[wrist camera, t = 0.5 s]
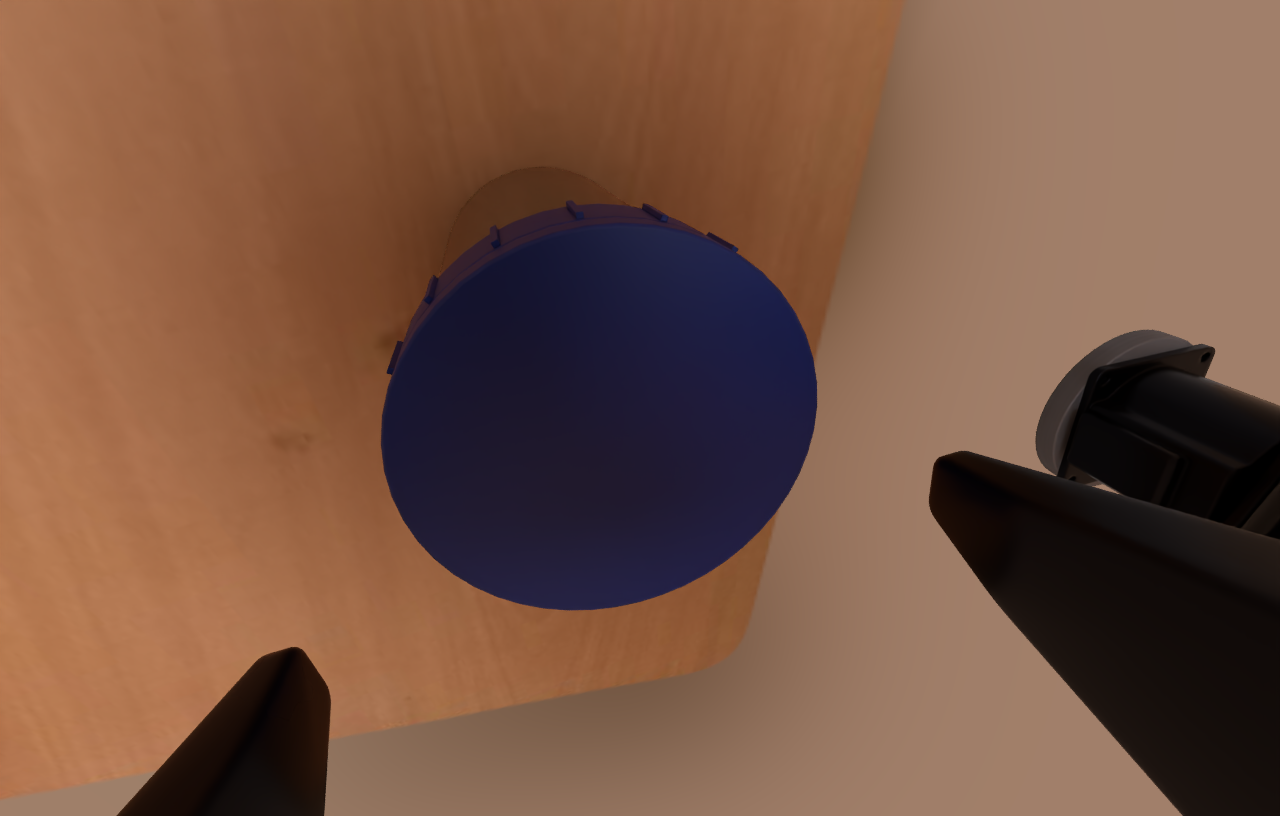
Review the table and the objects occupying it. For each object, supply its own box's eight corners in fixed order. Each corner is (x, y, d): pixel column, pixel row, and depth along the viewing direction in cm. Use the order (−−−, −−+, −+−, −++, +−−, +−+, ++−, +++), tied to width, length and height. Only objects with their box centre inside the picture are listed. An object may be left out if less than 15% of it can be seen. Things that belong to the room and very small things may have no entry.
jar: (630, 154, 18) (792, 206, 9) (648, 342, 21) (782, 532, 12) (420, 181, 17) (344, 275, 8) (472, 375, 20) (464, 613, 11)
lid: (776, 169, 9) (834, 182, 8) (770, 507, 13) (810, 561, 11) (329, 233, 8) (295, 262, 7) (454, 584, 12) (450, 656, 10)
